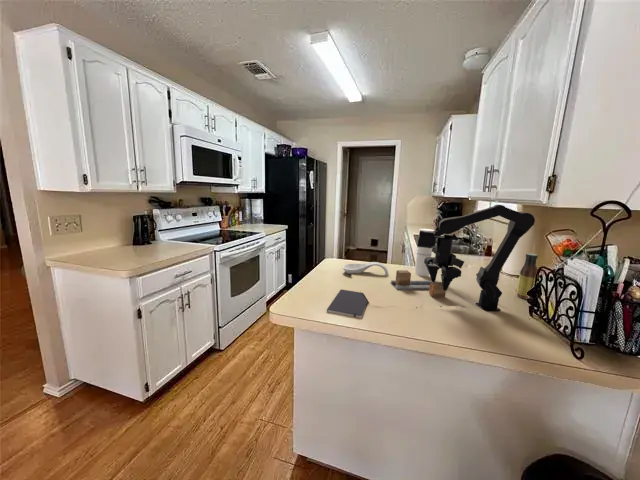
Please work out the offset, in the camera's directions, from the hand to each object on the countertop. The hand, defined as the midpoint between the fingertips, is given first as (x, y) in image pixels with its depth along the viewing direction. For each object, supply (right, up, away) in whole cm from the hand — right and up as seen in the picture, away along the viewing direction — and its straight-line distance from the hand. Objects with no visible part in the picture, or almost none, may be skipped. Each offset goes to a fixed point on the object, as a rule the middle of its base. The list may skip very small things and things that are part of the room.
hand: (438, 286), depth 115 cm
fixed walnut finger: (-12, -2, +11) cm, 16 cm away
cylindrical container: (+4, 0, +30) cm, 31 cm away
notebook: (-38, -6, -6) cm, 39 cm away
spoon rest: (-26, +1, +30) cm, 40 cm away
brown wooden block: (0, -6, +1) cm, 6 cm away
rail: (-5, -3, +12) cm, 13 cm away
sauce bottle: (+41, -7, +8) cm, 42 cm away
